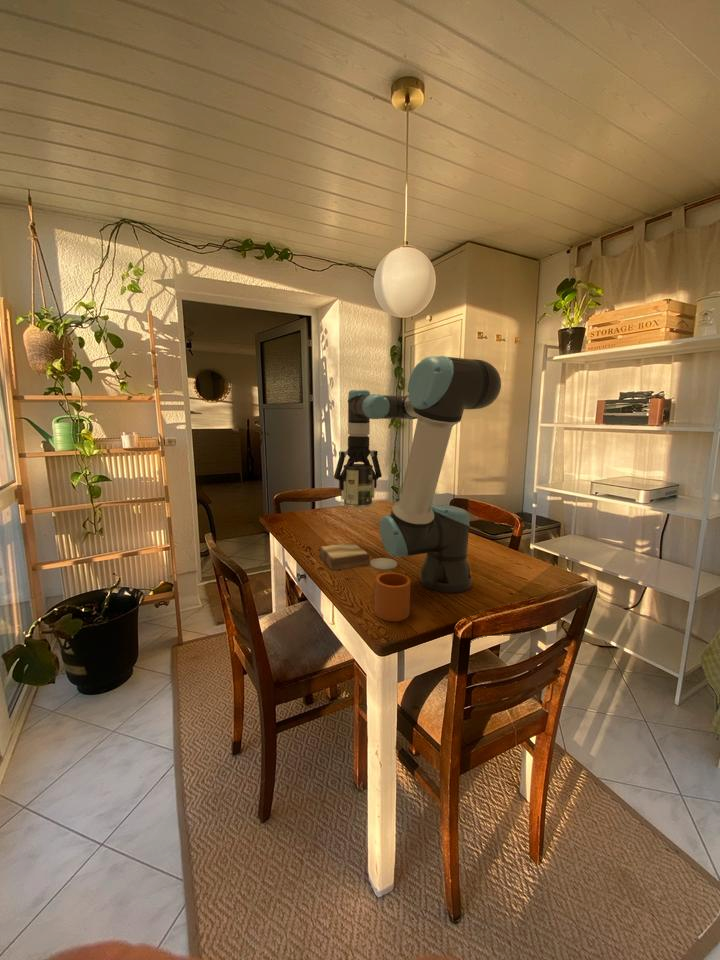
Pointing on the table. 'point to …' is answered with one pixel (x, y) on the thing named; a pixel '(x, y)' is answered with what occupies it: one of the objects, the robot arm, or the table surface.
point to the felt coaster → (383, 563)
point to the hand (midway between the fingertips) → (357, 498)
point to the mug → (392, 596)
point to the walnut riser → (344, 556)
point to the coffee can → (358, 485)
